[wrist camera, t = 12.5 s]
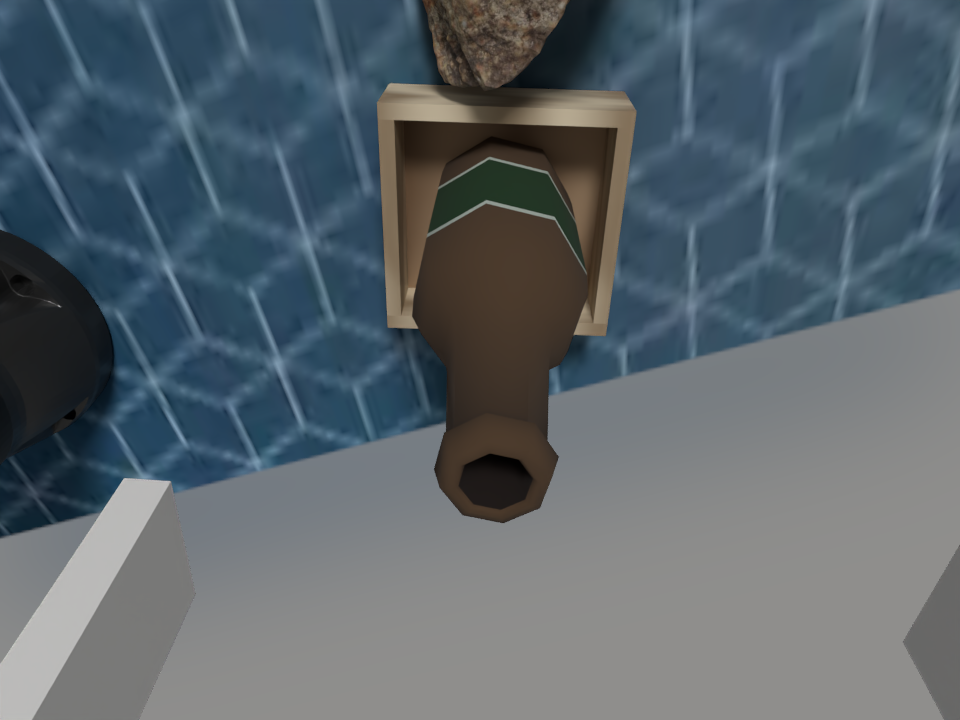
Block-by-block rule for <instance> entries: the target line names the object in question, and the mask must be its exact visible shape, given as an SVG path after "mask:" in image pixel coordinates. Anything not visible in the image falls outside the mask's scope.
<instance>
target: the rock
mask: <svg viewBox="0 0 960 720" xmlns="http://www.w3.org/2000/svg"><path fill="white" fill-rule="evenodd" d="M422 1H423V3H424V6H425V9H426V12H427V14H428V23H429V29H430V31H431V32H432V36H433V48H434V52H435V55H436V58H437V65H438V71H439V73H440V74H441V76H442V78H443V80H444V82H445V83H450V84H451V85H452V86H458V87H461V88H465V87H467V86H473V87H475V86H481V88H482V89H483V90H484V91H487V90H491V89H495V88H498V87H500V86H501V85H503V84H507V83H509V82H511V81H512V80H513V79H514V78H516V77H517V76H518V75H519V74H520V73H521V72H522V71H523V70H524V69H525V68H526V67H527V66H528V65H529V63H530V62H531V61H532V59H533V58H534V57H536V56H537V55H538V54H539V53H540V51H541V49H542V47H543V45H544V43H545V41H546V38H547V36H548V35H549V34H550V33H551V32H552V31H553V29H554V28H555V27H556V25H557V24H558V22H559V21H560V19H561V18H562V16H563V15H564V12H565V8H566V5H567V4H568V3H569V2H570V1H571V0H422Z"/></svg>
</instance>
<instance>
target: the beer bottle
mask: <svg viewBox="0 0 960 720" xmlns="http://www.w3.org/2000/svg"><path fill="white" fill-rule="evenodd" d="M587 296H588V282H587V272H586V268H585V263H584V258H583V254H582V249H581V244H580V240H579V235H578V230H577V226H576V221H575V216H574V212H573V207H572V203H571V201H570V198H569V196H568V193H567V192H566V190H565V188H564V186H563V184H562V183H561V181H560V179H559V177H558V175H557V174H556V172H555V170H554V168H553V167H552V165H551V163H550V161H549V159H548V158H547V156H546V154H545V152H544V150H543V149H540V148H536V147H532V146H528V145H524V144H520V143H516V142H512V141H508V140H504V139H500V138H496V137H492V136H491V137H489V138H487V139H486V140H484V141H482V142H481V143H479V144H477V145H476V146H474V147H472V148H471V149H469V150H467V151H466V152H464V153H462V154H461V155H459V156H457V157H456V158H454V159H453V160H451V161H449V162H448V163H446V165H445V167H444V169H443V171H442V175H441V179H440V183H439V188H438V192H437V196H436V200H435V204H434V208H433V213H432V217H431V221H430V225H429V229H428V234H427V238H426V242H425V247H424V252H423V256H422V261H421V265H420V270H419V275H418V279H417V284H416V288H415V293H414V298H413V311H412V317H413V319H414V321H415V323H416V325H417V327H418V329H419V331H420V332H421V334H422V335H423V337H424V338H425V339H426V341H427V342H428V343H429V345H430V346H431V348H432V349H433V350H434V352H435V353H436V354H437V356H438V357H439V358H440V360H441V361H442V362H443V364H444V365H445V366H446V369H447V406H446V432H445V433H444V435H443V439H442V442H441V446H440V450H439V454H438V457H437V461H436V464H435V468H434V470H435V473H436V477H437V480H438V483H439V487H440V488H441V490H442V491H443V492H444V493H445V495H446V496H447V497H448V498H449V499H450V501H451V502H452V503H453V504H454V505H455V507H456V508H457V509H458V510H459V511H460V513H461V514H462V515H465V516H470V517H475V518H480V519H485V520H490V521H495V522H500V523H505V522H507V521H510V520H512V519H515V518H516V517H519V516H521V515H524V514H527V513H529V512H531V511H534V510H536V509H539V508H540V506H541V504H542V501H543V499H544V496H545V494H546V491H547V489H548V486H549V484H550V481H551V478H552V476H553V472H554V469H555V467H556V463H557V461H558V455H557V454H556V452H555V451H554V450H553V448H552V447H551V445H550V444H549V442H548V441H547V434H548V432H547V431H548V389H549V370H550V369H552V368H554V367H556V366H558V365H560V363H561V362H562V360H563V358H564V357H565V355H566V353H567V351H568V349H569V346H570V343H571V340H572V338H573V335H574V332H575V329H576V327H577V324H578V321H579V318H580V316H581V313H582V310H583V307H584V305H585V302H586V299H587Z"/></svg>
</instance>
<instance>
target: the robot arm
mask: <svg viewBox="0 0 960 720" xmlns="http://www.w3.org/2000/svg"><path fill="white" fill-rule="evenodd" d="M112 356H113V354H112V344H111V339H110V335H109V331H108V328H107V325H106V323H105V321H104V318H103V316H102V314H101V312H100V310H99V309H98V307H97V305H96V303H95V302H94V300H93V299H92V297H91V296H90V295H89V293H88V292H87V291H86V289H85V288H84V287H83V286H82V285H81V283H80V282H79V281H78V280H77V279H76V278H75V277H74V276H73V275H72V274H71V273H70V272H69V271H68V270H67V269H66V268H65V267H63V266H62V265H61V264H60V263H59V262H57V261H56V260H55V259H54V258H52V257H51V256H50V255H48V254H47V253H45V252H44V251H42V250H41V249H39V248H37V247H36V246H34V245H32V244H31V243H29V242H27V241H25V240H23V239H21V238H19V237H17V236H15V235H13V234H10V233H8V232H5V231H2V230H0V464H2V462H3V461H4V460H5V459H7V458H9V457H10V456H12V455H14V454H16V453H18V452H20V451H22V450H24V449H26V448H28V447H30V446H32V445H34V444H35V443H37V442H39V441H41V440H43V439H45V438H47V437H49V436H51V435H52V434H54V433H56V432H59V431H61V430H62V429H64V428H66V427H68V426H69V425H71V424H72V423H74V422H75V421H76V420H77V419H78V418H80V417H81V416H82V415H83V414H84V413H85V412H86V411H87V409H88V408H89V407H90V406H91V405H92V403H93V402H94V401H95V400H96V399H97V397H98V396H99V395H100V394H101V392H102V391H103V389H104V388H105V386H106V384H107V382H108V379H109V376H110V373H111V368H112ZM195 594H196V593H195V588H194V584H193V579H192V575H191V570H190V566H189V561H188V557H187V553H186V548H185V543H184V539H183V534H182V530H181V525H180V521H179V516H178V512H177V507H176V503H175V498H174V493H173V489H172V484H171V481H158V480H143V479H129V478H124V479H123V481H122V482H121V484H120V485H119V487H118V488H117V490H116V491H115V493H114V494H113V496H112V497H111V499H110V500H109V502H108V503H107V505H106V506H105V508H104V509H103V511H102V512H101V514H100V515H99V517H98V519H97V520H96V521H95V523H94V524H93V526H92V528H91V529H90V530H89V532H88V533H87V535H86V536H85V538H84V539H83V541H82V543H81V544H80V545H79V547H78V548H77V550H76V551H75V553H74V555H73V556H72V558H71V559H70V560H69V562H68V563H67V565H66V566H65V568H64V569H63V571H62V572H61V574H60V575H59V577H58V578H57V580H56V581H55V583H54V584H53V586H52V588H51V589H50V590H49V592H48V593H47V595H46V596H45V598H44V599H43V601H42V602H41V604H40V605H39V607H38V608H37V610H36V611H35V613H34V614H33V616H32V617H31V619H30V620H29V622H28V623H27V625H26V626H25V628H24V629H23V631H22V632H21V634H20V636H19V637H18V638H17V640H16V641H15V643H14V644H13V646H12V647H11V649H10V651H9V652H8V653H7V655H6V657H5V658H4V659H3V661H2V662H1V664H0V720H139V718H140V716H141V714H142V712H143V709H144V707H145V705H146V703H147V701H148V698H149V696H150V694H151V692H152V690H153V687H154V685H155V683H156V680H157V678H158V676H159V674H160V672H161V669H162V667H163V665H164V663H165V661H166V659H167V656H168V654H169V652H170V650H171V647H172V645H173V643H174V641H175V639H176V636H177V634H178V632H179V630H180V627H181V625H182V623H183V621H184V619H185V616H186V614H187V612H188V610H189V608H190V605H191V603H192V601H193V599H194V597H195ZM903 643H904V645H905V647H906V649H907V651H908V653H909V654H910V656H911V658H912V660H913V662H914V664H915V665H916V667H917V669H918V671H919V673H920V675H921V677H922V679H923V681H924V682H925V684H926V686H927V688H928V690H929V692H930V694H931V696H932V698H933V699H934V701H935V703H936V705H937V707H938V709H939V711H940V713H941V715H942V716H943V718H944V720H960V545H959V547H958V549H957V550H956V552H955V554H954V556H953V557H952V559H951V561H950V562H949V564H948V566H947V567H946V570H945V571H944V573H943V575H942V576H941V578H940V579H939V581H938V583H937V585H936V586H935V588H934V590H933V591H932V593H931V595H930V597H929V598H928V600H927V602H926V603H925V605H924V607H923V608H922V610H921V612H920V614H919V615H918V617H917V619H916V620H915V622H914V624H913V625H912V627H911V629H910V631H909V632H908V634H907V636H906V637H905V639H904V641H903Z"/></svg>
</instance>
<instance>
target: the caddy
mask: <svg viewBox="0 0 960 720" xmlns="http://www.w3.org/2000/svg"><path fill="white" fill-rule="evenodd" d="M377 112H378V133H379V154H380V175H381V196H382V217H383V237H384V258H385V279H386V300H387V321H388V328H412V329H418V327H417V325H416V323H415V321H414V319H413V317H412V311H413V298H414V293H415V288H416V284H417V279H418V275H419V270H420V265H421V261H422V256H423V252H424V247H425V242H426V238H427V234H428V229H429V225H430V221H431V217H432V213H433V208H434V204H435V200H436V196H437V192H438V188H439V183H440V179H441V175H442V171H443V169H444V167H445V165H446V163H448V162H449V161H451V160H453V159H454V158H456V157H457V156H459V155H461V154H462V153H464V152H466V151H467V150H469V149H471V148H472V147H474V146H476V145H477V144H479V143H481V142H482V141H484V140H486V139H487V138H489V137H491V136H492V137H496V138H500V139H504V140H508V141H512V142H516V143H520V144H524V145H528V146H532V147H536V148H540V149H543V150H544V152H545V154H546V156H547V158H548V159H549V161H550V163H551V165H552V167H553V168H554V170H555V172H556V174H557V175H558V177H559V179H560V181H561V183H562V184H563V186H564V188H565V190H566V192H567V193H568V196H569V198H570V201H571V203H572V207H573V212H574V216H575V221H576V226H577V230H578V235H579V240H580V244H581V249H582V254H583V258H584V263H585V268H586V272H587V282H588V296H587V299H586V302H585V305H584V307H583V310H582V313H581V316H580V318H579V321H578V324H577V327H576V329H575V332H574V335H592V336H606V330H607V322H608V315H609V308H610V301H611V293H612V286H613V279H614V272H615V264H616V257H617V250H618V242H619V235H620V228H621V221H622V213H623V206H624V199H625V192H626V184H627V177H628V170H629V163H630V155H631V148H632V141H633V134H634V126H635V119H636V110H635V108H634V107H633V105H632V103H631V102H630V100H629V99H628V97H627V95H626V94H625V92H623V91H594V90H565V89H536V88H507V87H498V88H495V89H491V90H487V91H484V90H483V89H482V88H481V87H478V86H475V87H473V86H467V87H465V88H461V87H458V86H449V85H420V84H391V83H389V85H388V86H387V88H386V90H385V91H384V93H383V94H382V96H381V97H380V99H379V100H378V102H377Z"/></svg>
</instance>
